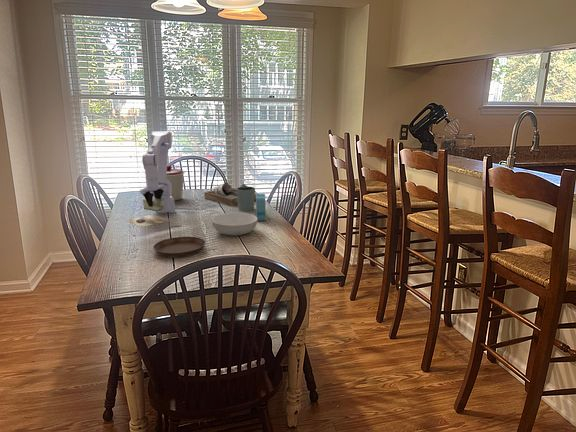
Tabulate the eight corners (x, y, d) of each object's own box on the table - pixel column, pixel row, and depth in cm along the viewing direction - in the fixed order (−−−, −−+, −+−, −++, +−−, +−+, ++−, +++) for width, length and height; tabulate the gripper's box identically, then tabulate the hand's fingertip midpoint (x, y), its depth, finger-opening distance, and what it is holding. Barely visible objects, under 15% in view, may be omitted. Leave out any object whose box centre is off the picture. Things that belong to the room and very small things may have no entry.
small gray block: (142, 220, 215) (142, 218, 215) (145, 221, 213) (144, 219, 213) (136, 221, 213) (136, 219, 213) (139, 223, 211) (139, 221, 211)
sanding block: (150, 207, 222) (149, 197, 220) (163, 209, 218) (162, 199, 216) (143, 209, 218) (142, 199, 217) (157, 211, 214) (156, 201, 212)
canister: (173, 194, 277) (170, 161, 272) (192, 198, 267) (190, 164, 261) (149, 200, 263) (146, 165, 258) (168, 204, 253) (166, 168, 247)
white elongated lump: (211, 199, 264) (210, 183, 262) (219, 196, 273) (218, 180, 271) (250, 202, 256) (249, 186, 254) (256, 199, 266) (256, 183, 263)
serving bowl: (221, 242, 188) (220, 227, 186) (206, 229, 206) (205, 215, 204) (265, 235, 197) (264, 221, 195) (247, 224, 215) (247, 210, 213)
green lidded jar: (234, 210, 239) (233, 189, 236) (242, 206, 248) (241, 185, 245) (250, 212, 236) (249, 190, 233) (258, 207, 245) (258, 186, 242)
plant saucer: (144, 251, 178) (143, 243, 177) (188, 239, 192) (187, 232, 191) (170, 264, 164) (170, 256, 163) (215, 251, 178) (215, 243, 177)
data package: (265, 221, 218) (265, 198, 215) (256, 222, 218) (256, 198, 215) (265, 215, 230) (264, 193, 226) (256, 215, 229) (256, 193, 226)
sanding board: (153, 217, 227) (152, 214, 227) (170, 223, 215) (169, 220, 215) (125, 223, 217) (125, 220, 216) (141, 230, 205) (141, 227, 205)
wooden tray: (228, 193, 280) (228, 187, 279) (256, 200, 262) (255, 193, 261) (204, 198, 267) (204, 192, 266) (231, 205, 249) (231, 199, 248)
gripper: (156, 175, 221) (159, 201, 225) (134, 180, 209) (137, 207, 213) (167, 176, 218) (169, 202, 222) (145, 181, 206) (147, 209, 209)
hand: (154, 205), depth 217 cm, fingers closed on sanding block, 4 cm apart
